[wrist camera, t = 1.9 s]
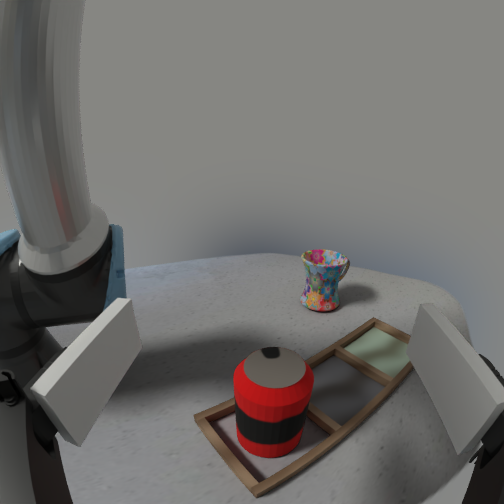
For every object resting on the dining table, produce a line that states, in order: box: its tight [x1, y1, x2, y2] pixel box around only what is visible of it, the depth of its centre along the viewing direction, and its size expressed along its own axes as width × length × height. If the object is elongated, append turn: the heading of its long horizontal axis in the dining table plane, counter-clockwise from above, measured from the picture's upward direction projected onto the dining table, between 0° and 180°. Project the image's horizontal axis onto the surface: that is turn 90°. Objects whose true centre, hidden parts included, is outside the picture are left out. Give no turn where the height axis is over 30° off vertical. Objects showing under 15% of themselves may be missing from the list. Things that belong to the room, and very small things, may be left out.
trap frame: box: [194, 317, 414, 498], centre depth 34 cm, size 13×37×2 cm, turn 125°
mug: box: [300, 250, 350, 311], centre depth 56 cm, size 12×9×11 cm
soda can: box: [234, 347, 314, 458], centre depth 26 cm, size 8×8×12 cm
